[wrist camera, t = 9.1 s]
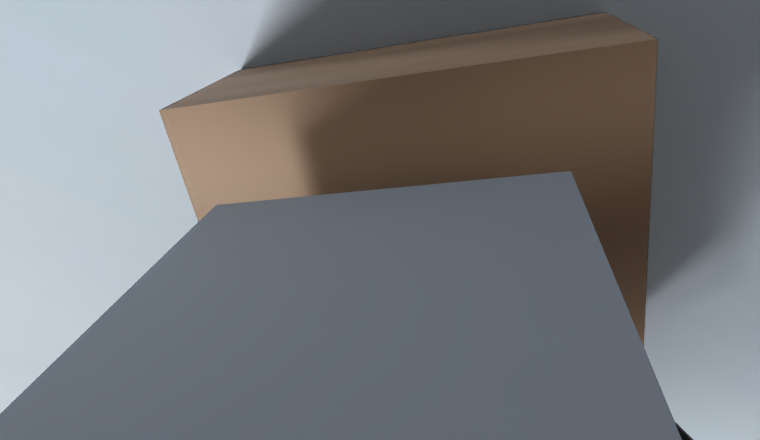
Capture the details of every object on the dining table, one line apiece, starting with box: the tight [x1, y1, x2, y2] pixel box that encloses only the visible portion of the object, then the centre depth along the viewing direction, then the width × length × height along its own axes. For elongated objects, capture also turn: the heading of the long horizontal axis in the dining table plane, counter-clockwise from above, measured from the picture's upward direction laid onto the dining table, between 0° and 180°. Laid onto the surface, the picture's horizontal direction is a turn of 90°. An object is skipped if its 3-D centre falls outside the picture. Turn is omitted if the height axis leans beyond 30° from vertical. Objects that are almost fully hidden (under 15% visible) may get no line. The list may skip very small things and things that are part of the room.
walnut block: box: [159, 13, 658, 347], centre depth 13 cm, size 9×9×4 cm
